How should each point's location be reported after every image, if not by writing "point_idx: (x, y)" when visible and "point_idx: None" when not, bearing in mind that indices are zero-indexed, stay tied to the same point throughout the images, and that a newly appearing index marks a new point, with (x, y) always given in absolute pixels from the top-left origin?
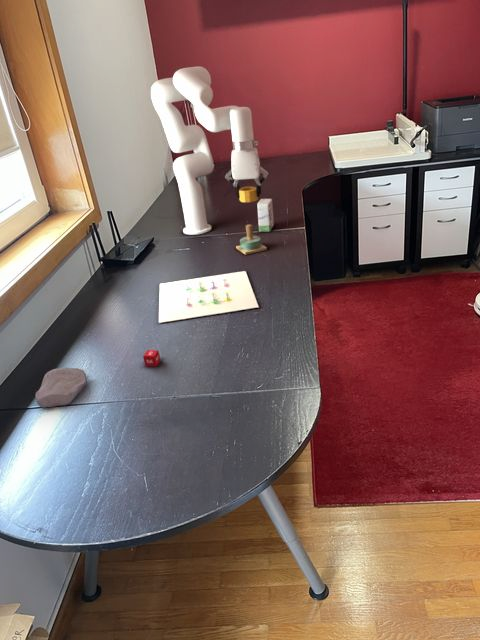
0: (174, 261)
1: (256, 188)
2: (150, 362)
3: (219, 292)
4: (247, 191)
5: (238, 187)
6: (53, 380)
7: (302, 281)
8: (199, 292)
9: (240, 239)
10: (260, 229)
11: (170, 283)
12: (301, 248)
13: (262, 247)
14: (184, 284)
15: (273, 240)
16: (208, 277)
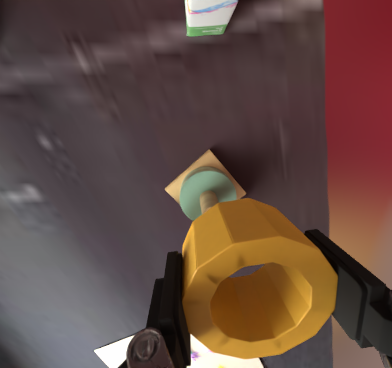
0: (52, 264)
1: (341, 325)
2: None
3: (208, 363)
4: (269, 353)
5: (188, 350)
6: None
7: (327, 319)
8: None
9: (180, 200)
10: (193, 33)
11: (112, 348)
12: (326, 180)
13: (236, 195)
14: None
15: (249, 123)
16: None
